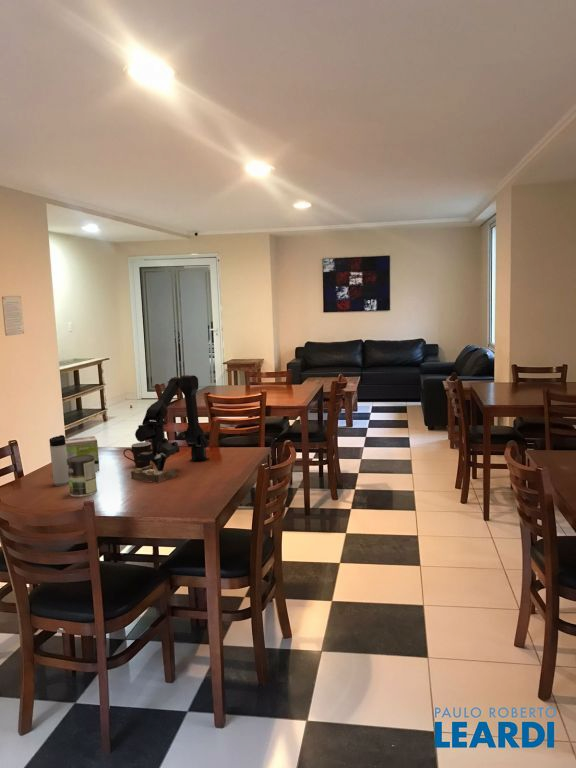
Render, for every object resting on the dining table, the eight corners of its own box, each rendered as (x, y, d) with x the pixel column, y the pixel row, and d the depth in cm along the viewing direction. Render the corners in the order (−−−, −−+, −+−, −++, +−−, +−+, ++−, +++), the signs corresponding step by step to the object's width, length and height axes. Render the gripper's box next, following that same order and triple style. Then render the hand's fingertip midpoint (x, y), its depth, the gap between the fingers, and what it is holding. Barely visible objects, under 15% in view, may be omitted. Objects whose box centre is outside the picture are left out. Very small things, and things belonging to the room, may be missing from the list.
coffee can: (72, 498, 236) (69, 462, 234) (68, 492, 244) (64, 457, 243) (100, 493, 240) (96, 458, 239) (94, 487, 249) (91, 453, 248)
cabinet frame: (151, 471, 268) (150, 462, 268) (176, 476, 259) (175, 465, 259) (131, 478, 259) (130, 468, 259) (156, 483, 250) (155, 472, 250)
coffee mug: (155, 463, 283) (153, 441, 282) (149, 468, 275) (147, 446, 273) (130, 463, 284) (128, 442, 283) (123, 469, 276) (121, 447, 274)
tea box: (64, 477, 268) (61, 443, 266) (62, 471, 277) (59, 439, 275) (100, 471, 274) (97, 439, 272) (97, 466, 283) (94, 435, 281)
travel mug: (73, 481, 259) (68, 435, 257) (63, 486, 253) (58, 438, 251) (61, 481, 261) (56, 434, 259) (50, 485, 255) (45, 438, 253)
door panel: (150, 475, 265) (150, 467, 264) (168, 478, 258) (168, 469, 258) (138, 479, 259) (137, 471, 259) (156, 482, 253) (155, 474, 252)
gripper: (154, 443, 248) (157, 480, 250) (187, 433, 263) (190, 469, 265) (135, 440, 255) (139, 477, 257) (168, 431, 270) (171, 466, 272)
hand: (160, 472), depth 262 cm, fingers closed
